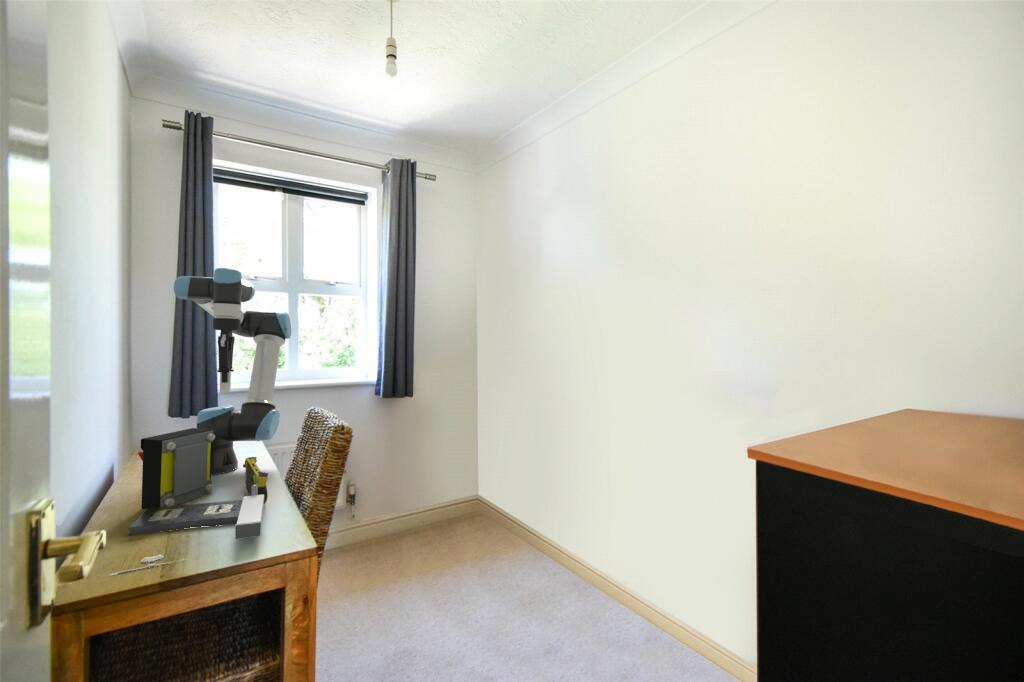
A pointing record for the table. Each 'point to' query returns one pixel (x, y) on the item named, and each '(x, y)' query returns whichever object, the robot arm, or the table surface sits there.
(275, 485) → the table surface
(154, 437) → the electrical component
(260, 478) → the gaming console
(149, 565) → the picture light
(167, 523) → the label board
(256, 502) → the light grey rectangular bar
